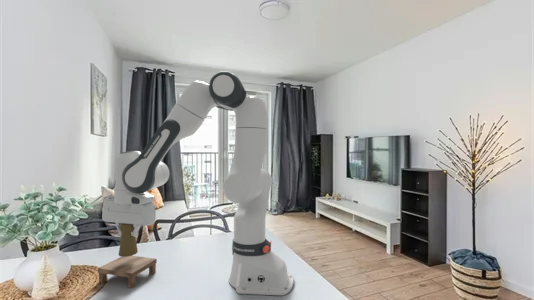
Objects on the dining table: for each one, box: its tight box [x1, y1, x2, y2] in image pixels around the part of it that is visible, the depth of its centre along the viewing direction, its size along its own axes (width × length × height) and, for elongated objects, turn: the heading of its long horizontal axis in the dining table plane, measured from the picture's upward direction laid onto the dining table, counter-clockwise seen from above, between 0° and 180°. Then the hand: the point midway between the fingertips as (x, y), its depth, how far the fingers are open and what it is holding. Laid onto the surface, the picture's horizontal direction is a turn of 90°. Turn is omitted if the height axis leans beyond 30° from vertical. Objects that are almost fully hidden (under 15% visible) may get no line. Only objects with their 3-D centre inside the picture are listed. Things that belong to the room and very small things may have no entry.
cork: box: [118, 223, 139, 257], centre depth 95 cm, size 6×6×11 cm
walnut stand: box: [97, 255, 157, 289], centre depth 95 cm, size 14×12×5 cm
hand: (128, 235), depth 95 cm, fingers closed on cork, 4 cm apart
